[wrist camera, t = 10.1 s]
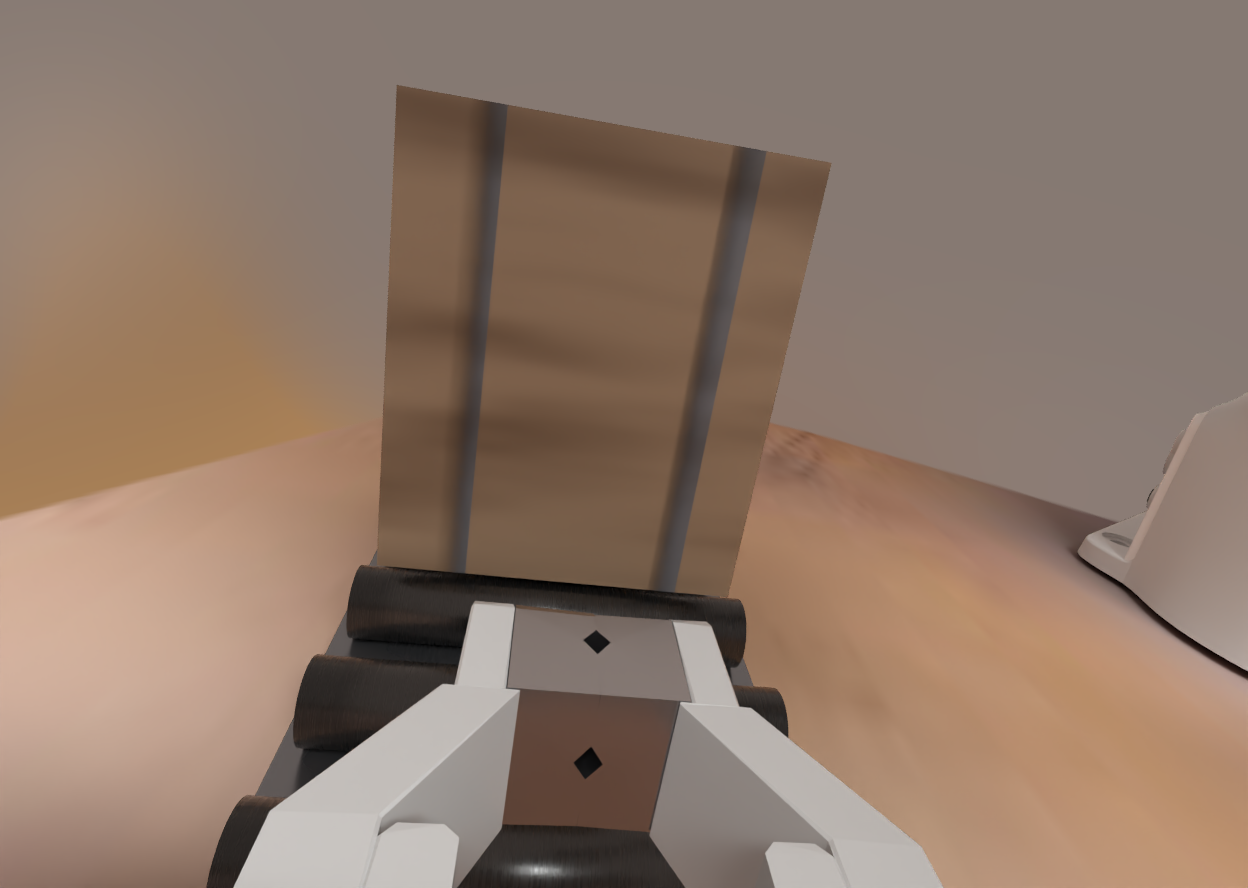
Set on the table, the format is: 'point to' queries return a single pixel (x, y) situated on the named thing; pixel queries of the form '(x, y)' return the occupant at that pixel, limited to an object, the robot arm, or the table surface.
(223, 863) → the roller track
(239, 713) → the table surface
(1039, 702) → the table surface
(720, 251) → the crate
